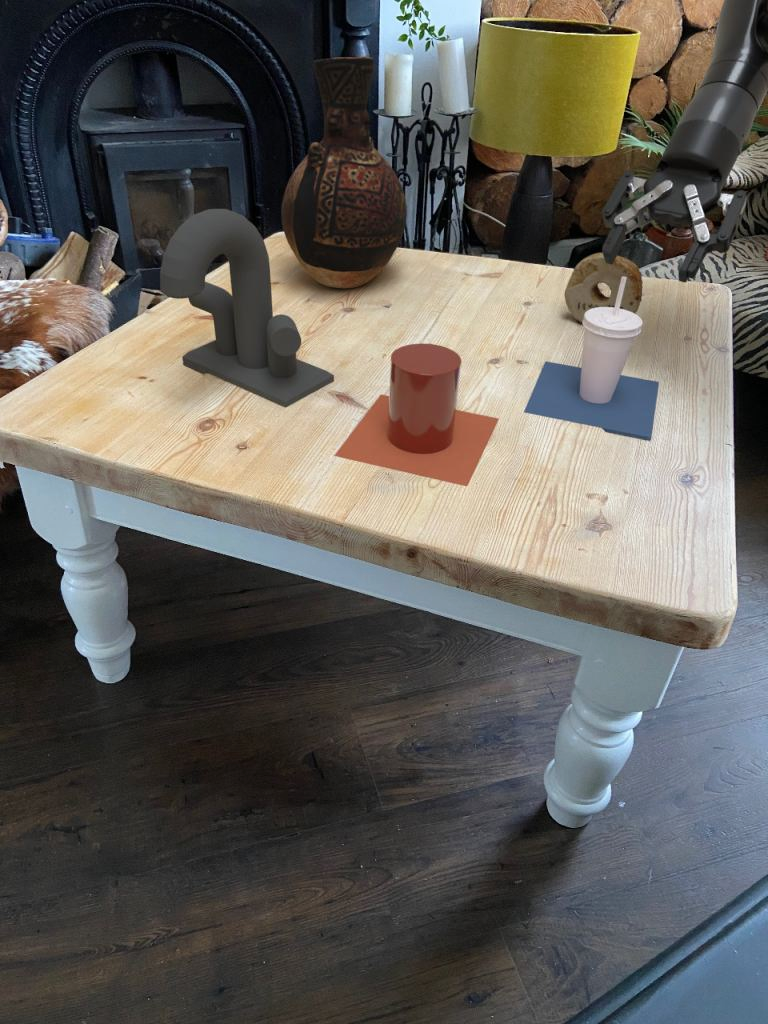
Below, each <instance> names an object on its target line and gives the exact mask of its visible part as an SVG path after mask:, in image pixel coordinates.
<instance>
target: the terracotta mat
mask: <svg viewBox="0 0 768 1024" xmlns="http://www.w3.org/2000/svg"><path fill="white" fill-rule="evenodd" d="M388 411H389V395H386V394H381V393H380V395H379V396H378V397H377V399H376V400H375V401H374V403H373V404H372V405H371V407H370V408H369V409H368V411H366V413H365V415H364V416H363V417H362V419H361V420H360V421H359V422H358V423H357V425H356V426H355V427H354V428H353V430H352V432H351V433H350V434H349V435H348V437H347V438H345V440H344V442H343V443H342V444H341V446H340V447H339V448H338V450H337V451H336V452H335V453H334V454H333V456H334V457H337V458H342V459H345V460H350V461H355V462H359V463H364V464H368V465H372V466H375V467H381V468H385V469H389V470H394V471H398V472H403V473H407V474H411V475H416V476H420V477H424V478H429V479H432V480H436V481H442V482H444V483H445V482H446V483H450V484H454V485H459V486H463V487H468V486H469V483H470V481H471V480H472V478H473V476H474V473H475V472H476V469H477V467H478V465H479V463H480V460H481V459H482V456H483V454H484V452H485V450H486V447H487V446H488V443H489V441H490V440H491V437H492V435H493V432H494V430H495V428H496V426H497V424H498V422H499V419H500V418H499V417H493V416H488V415H483V414H479V413H474V412H469V411H465V410H459V409H456V416H455V426H454V435H453V441H452V443H451V445H450V446H449V447H447V448H446V449H444V450H442V451H439V452H436V453H430V454H417V453H410V452H407V451H404V450H401V449H399V448H397V447H395V446H394V445H393V444H392V443H391V442H390V441H389V439H388Z"/></svg>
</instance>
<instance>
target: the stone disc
mask: <svg viewBox="0 0 768 1024" xmlns="http://www.w3.org/2000/svg"><path fill="white" fill-rule="evenodd" d="M621 277H627V279H626V283H625V288H624V292H623V296H622V300H621V305H620V309H624V310H627V311H630V312H632V313H634V314H636V315H637V313H638V311H639V308H640V305H641V303H642V299H643V298H642V297H643V288H644V287H643V285H644V284H643V283H644V282H643V281H644V280H643V276H642V272H641V271H640V268H639V266H638V265H637V264H636V263H635V262H633V261H632V260H630V259H629V258H626V257H623V256H621V255H617V257H616V259H615V261H614V263H613V264H612V265H611V264H607V263H606V262H605V259H604V256H603V252H596V253H593V254H590V255H588V256H586V257H584V258H582V259H581V260H580V261H579V262H578V263H577V264H576V266H575V267H574V268H573V271H572V272H571V275H570V276H569V280H568V281H567V284H566V286H565V290H564V301H565V304H566V307H567V309H568V311H569V312H570V314H571V316H572V317H573V318H574V319H575V320H577V321H578V322H580V323H582V321H583V319H584V314H585V312H586V311H588V310H590V309H592V308H597V307H613V308H614V307H615V303H616V299H617V294H618V290H619V286H620V282H621ZM599 284H605V285H607V286H608V288H609V290H610V295H609V296H606V295H605V294H604V293H603V292H602V291H601V289H600V287H599Z"/></svg>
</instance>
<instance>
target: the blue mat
mask: <svg viewBox="0 0 768 1024" xmlns="http://www.w3.org/2000/svg"><path fill="white" fill-rule="evenodd" d="M581 368H582V367H580V366H573V365H569V364H563V363H557V362H552V361H548V360H547V361H544V364H543V365H542V368H541V370H540V373H539V375H538V377H537V380H536V382H535V384H534V387H533V390H532V392H531V394H530V396H529V399H528V401H527V404H526V406H525V407H524V410H523V413H525V414H529V415H530V414H531V415H535V416H540V417H544V418H550V419H554V420H559V421H565V422H569V423H574V424H580V425H584V426H589V427H595V428H600V429H602V430H603V431H604V432H606V433H610V434H617V435H619V436H620V435H621V436H624V437H625V436H627V437H631V438H635V439H641V440H646V441H652V436H653V429H654V419H655V413H656V407H657V399H658V392H659V384H660V382H659V381H655V380H650V379H645V378H639V377H635V376H628V375H623V374H621V375H620V378H619V380H618V383H617V385H616V388H615V390H614V393H613V396H612V398H611V400H610V401H609V402H607V403H601V404H599V403H592V402H588V401H586V400H584V399H583V398H581V397H580V394H579V393H580V380H581Z"/></svg>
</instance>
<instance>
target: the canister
mask: <svg viewBox="0 0 768 1024" xmlns="http://www.w3.org/2000/svg"><path fill="white" fill-rule="evenodd" d="M389 368H390V370H389V389H388V391H389V393H388V396H389V411H388V439H389V441H390V442H391V443H392V444H393V445H394V446H395V447H397V448H399V449H401V450H404V451H407V452H410V453H417V454H430V453H436V452H439V451H442V450H444V449H446V448H447V447H449V446H450V445H451V443H452V441H453V435H454V426H455V416H456V410H457V407H458V399H459V398H458V396H459V388H460V378H461V369H462V358H461V356H460V355H459V354H458V353H457V352H456V351H454V350H453V349H451V348H449V347H447V346H443V345H438V344H434V343H410V344H406V345H403V346H399V347H398V348H396V349H394V351H393V352H392V353H391V355H390V367H389Z"/></svg>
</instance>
